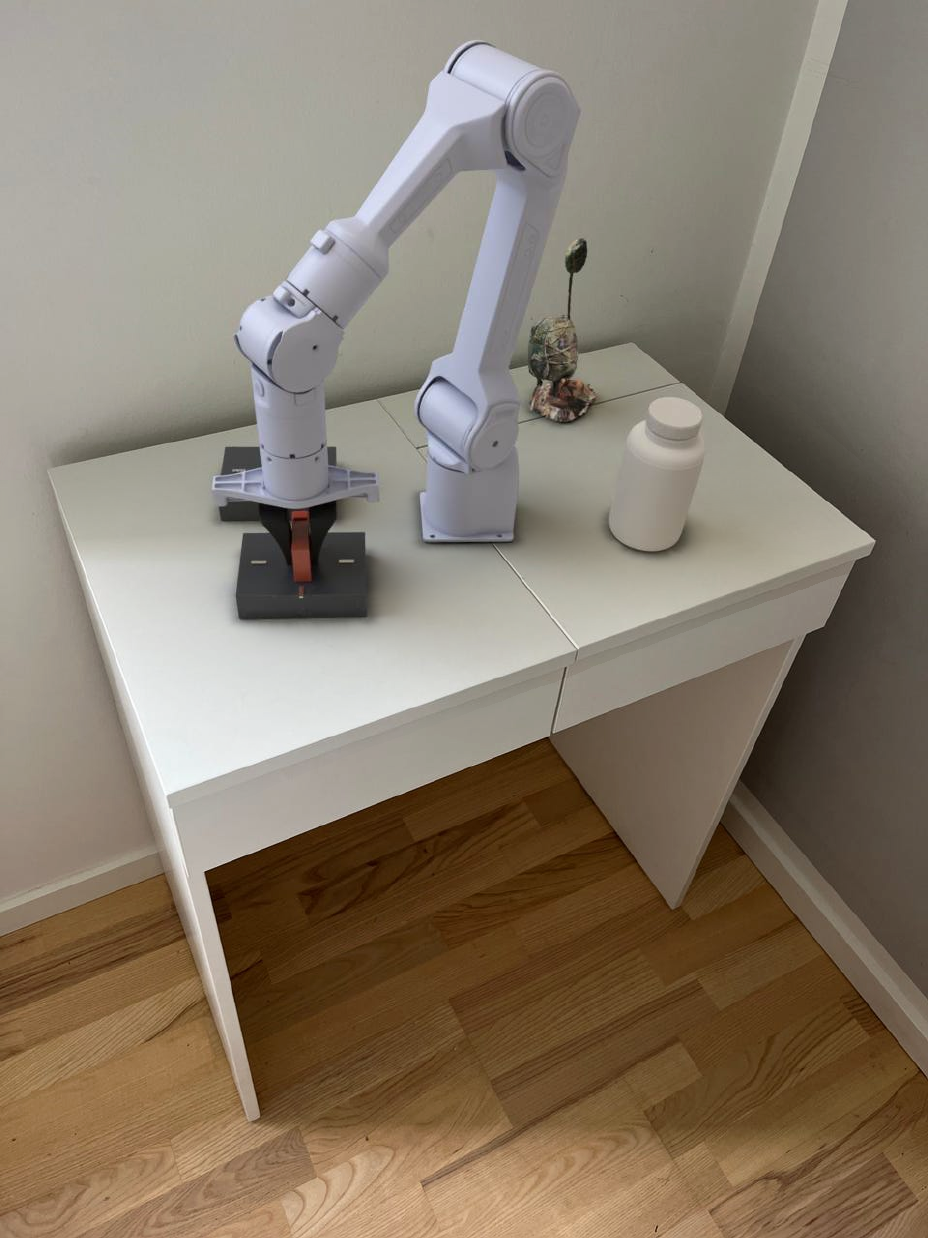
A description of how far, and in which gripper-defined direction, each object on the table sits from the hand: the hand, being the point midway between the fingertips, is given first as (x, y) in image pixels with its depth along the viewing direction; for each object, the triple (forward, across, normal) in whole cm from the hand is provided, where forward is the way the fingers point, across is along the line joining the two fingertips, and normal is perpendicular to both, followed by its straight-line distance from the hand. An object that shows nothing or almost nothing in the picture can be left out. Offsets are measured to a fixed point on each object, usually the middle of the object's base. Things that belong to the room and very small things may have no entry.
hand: (302, 557), depth 90 cm
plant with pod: (+4, -31, -31) cm, 44 cm away
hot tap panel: (+4, 0, 0) cm, 4 cm away
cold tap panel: (+4, +2, -15) cm, 15 cm away
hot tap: (+1, 0, 0) cm, 1 cm away
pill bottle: (+4, -36, -7) cm, 37 cm away
